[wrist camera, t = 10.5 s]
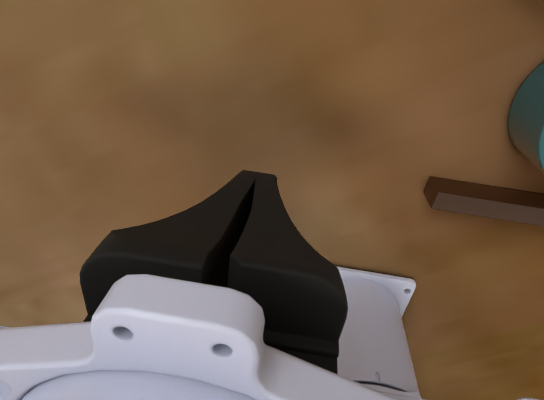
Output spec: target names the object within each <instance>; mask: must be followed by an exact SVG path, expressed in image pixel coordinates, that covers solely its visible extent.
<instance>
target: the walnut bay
mask: <svg viewBox="0 0 544 400" xmlns="http://www.w3.org/2000/svg"><path fill="white" fill-rule="evenodd" d="M424 194H425V196H426V198H427V200H428V203H429V205H430V207H431V208H432V209H437V210H444V211H450V212H456V213H463V214H469V215H475V216H481V217H488V218H494V219H500V220H507V221H513V222H519V223H526V224H532V225H538V226H544V194H539V193H533V192H527V191H520V190H514V189H507V188H501V187H495V186H488V185H482V184H475V183H469V182H462V181H456V180H450V179H443V178H437V177H429V180H428V182H427V184H426V187H425V189H424Z"/></svg>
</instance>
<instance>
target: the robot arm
mask: <svg viewBox="0 0 544 400" xmlns="http://www.w3.org/2000/svg"><path fill="white" fill-rule="evenodd" d="M80 284H81V288H82V292H83V296H84V301H85V305H86V309H87V313H88V315H87V317H86V318H85V320H84V321H83V322H76V323H63V324H50V325H37V326H24V327H6V326H0V400H427V399H421V396H420V393H419V389H418V385H417V381H416V377H415V372H414V368H413V364H412V360H411V356H410V352H409V347H408V343H407V339H406V335H405V331H404V326H403V322H402V318H401V317H402V315H403V313H404V311H405V309H406V307H407V305H408V303H409V301H410V298H411V296H412V294H413V292H414V290H415V288H416V283H415V281H414V280H413V279H410V278H404V277H398V276H392V275H385V274H379V273H373V272H367V271H361V270H355V269H349V268H343V267H337V266H335V265H333V264H332V263H331V262H329V261H328V260H327V259H325V258H324V257H322V256H321V255H320V254H319V253H318V252H317V251H316V250H315V249H313V248H312V247H311V246H310V245H309V244H308V242H307V241H306V240H305V239H304V238H303V237H302V236H301V234H300V233H299V232H298V230H297V229H296V227H295V226H294V224H293V222H292V221H291V219H290V217H289V215H288V213H287V211H286V209H285V207H284V205H283V202H282V199H281V197H280V193H279V190H278V186H277V177H276V176H275V175H272V174H266V173H259V172H253V171H247V170H242V171H241V172H240V173H239V174H237V175H236V176H235V177H234V178H233V179H232V180H231V181H229V182H228V183H227V184H226V185H225V186H223V187H222V188H221V189H219V190H218V191H217V192H216V193H214V194H213V195H211V196H210V197H208V198H207V199H205V200H204V201H202V202H200V203H199V204H197V205H195V206H193V207H191V208H189V209H187V210H185V211H183V212H180V213H178V214H175V215H172V216H170V217H167V218H165V219H162V220H158V221H155V222H151V223H148V224H144V225H140V226H135V227H130V228H124V229H119V230H112V231H111V232H110V233H109V235H108V236H107V237H106V238H105V239H104V240H103V241H102V242H101V243H100V244H99V246H98V247H97V248H96V249H95V250H94V252H93V253H92V254H91V256H90V257H89V258H88V259H87V261H86V262H85V263H84V264H83V266H82V269H81V271H80ZM405 289H408V290H405ZM515 400H541V399H535V398H525V397H522V398H518V399H515Z"/></svg>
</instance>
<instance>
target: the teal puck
mask: <svg viewBox="0 0 544 400" xmlns="http://www.w3.org/2000/svg"><path fill="white" fill-rule="evenodd" d="M508 129H509V134H510V137H511V140H512V142H513V144H514V145H515V147H516V148H517V149H518V150H519V151H520V152H521V153H522V154H523V155H524V156H525V157H526V158H527V159H529V160H530V161H531V162H532V163H533V164H534V165H535V166H536V167H538V168H539V169H540V170H541V171H542V172H543V173H544V62H543V63H541V64H540V65H539V66H538V67H537V68H536V69H535V70H534V71H533V72H532V73H531V74H530V75H529V76H528V77H527V78H526V80H525V81H524V82H523V84H522V85H521V87H520V88H519V90H518V91H517V93H516V95H515V97H514V99H513V102H512V104H511V108H510V111H509V117H508Z"/></svg>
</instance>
